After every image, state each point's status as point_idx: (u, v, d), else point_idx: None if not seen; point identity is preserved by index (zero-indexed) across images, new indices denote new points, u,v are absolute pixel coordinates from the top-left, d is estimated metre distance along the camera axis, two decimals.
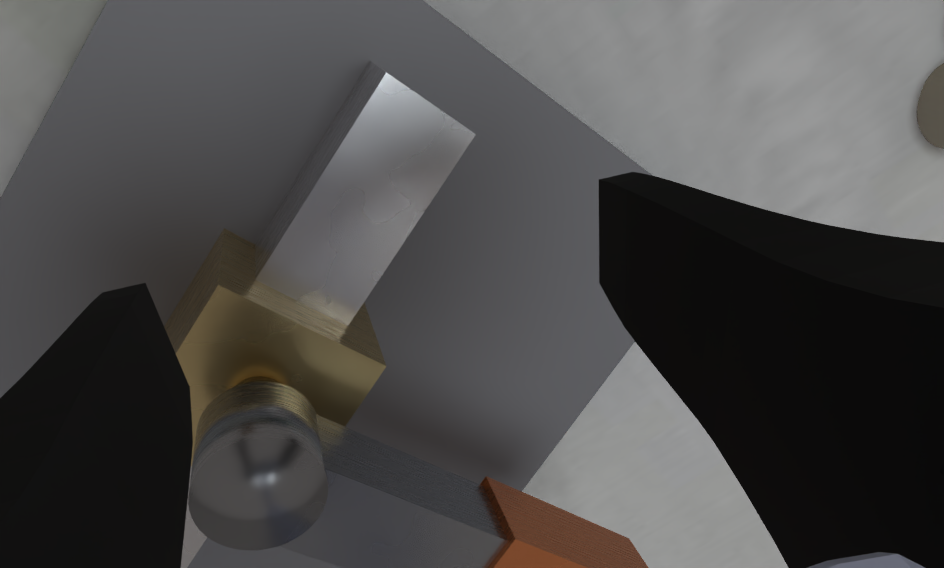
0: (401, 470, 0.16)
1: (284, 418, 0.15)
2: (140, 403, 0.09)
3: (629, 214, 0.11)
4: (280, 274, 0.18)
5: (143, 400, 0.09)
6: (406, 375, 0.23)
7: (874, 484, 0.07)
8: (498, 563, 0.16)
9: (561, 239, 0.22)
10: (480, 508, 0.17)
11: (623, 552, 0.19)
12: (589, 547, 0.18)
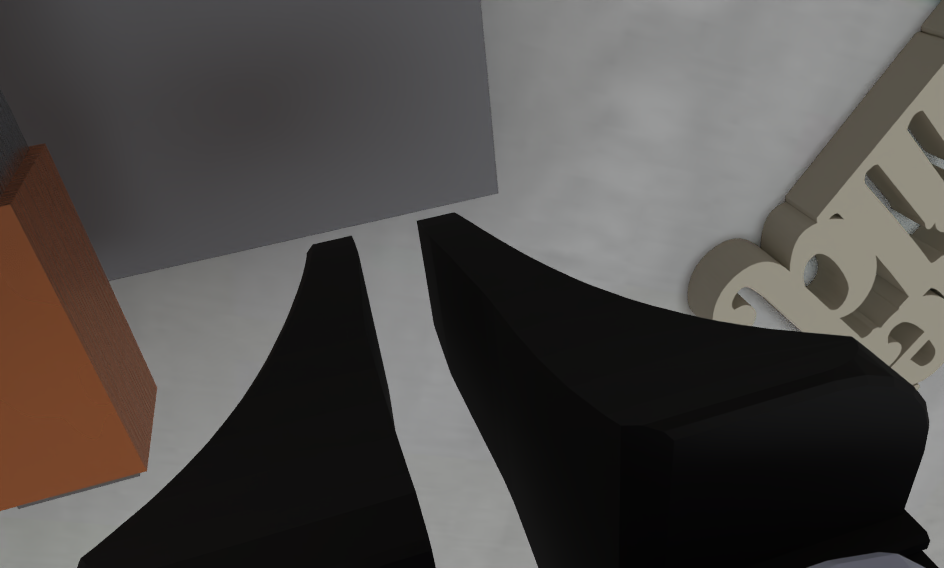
0: None
1: None
2: (374, 342, 0.10)
3: (434, 260, 0.10)
4: None
5: (374, 341, 0.10)
6: (52, 19, 0.15)
7: None
8: None
9: (356, 48, 0.17)
10: None
11: (138, 385, 0.13)
12: (102, 333, 0.12)
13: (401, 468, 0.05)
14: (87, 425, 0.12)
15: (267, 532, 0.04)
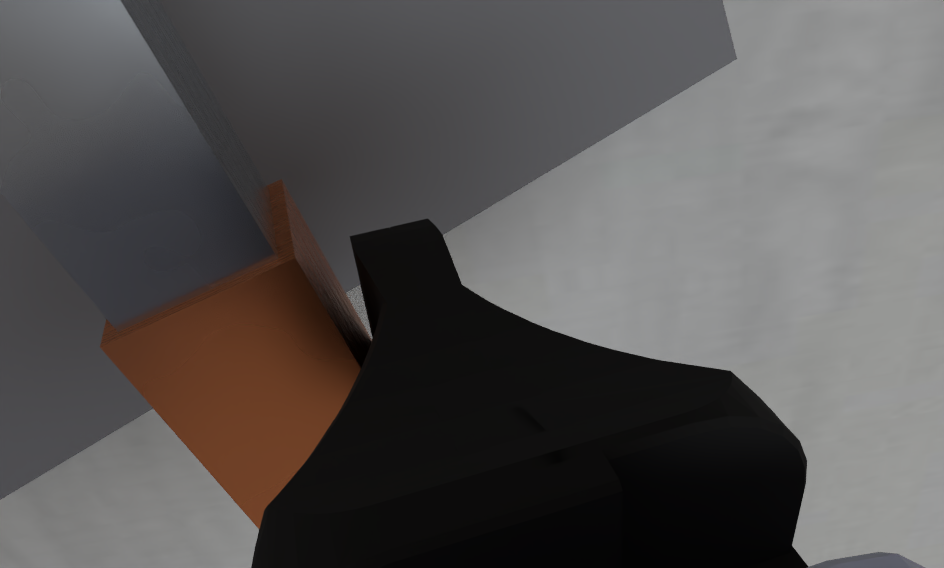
0: (154, 17, 0.08)
1: None
2: None
3: (362, 277, 0.10)
4: None
5: None
6: (242, 24, 0.14)
7: None
8: (238, 287, 0.08)
9: None
10: (254, 193, 0.09)
11: None
12: None
13: (566, 421, 0.05)
14: None
15: (457, 477, 0.05)
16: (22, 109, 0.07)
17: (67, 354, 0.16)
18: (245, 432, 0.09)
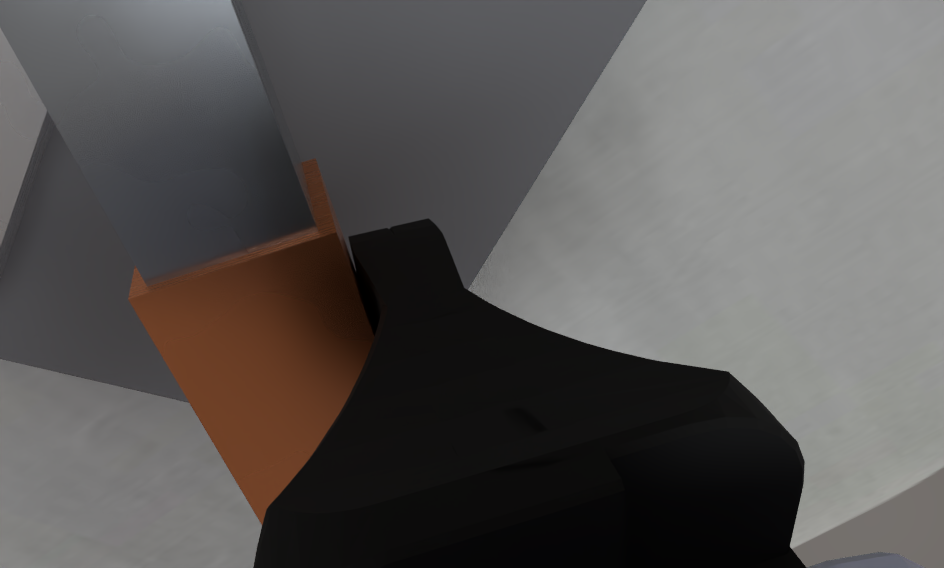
0: None
1: None
2: None
3: (361, 278, 0.10)
4: None
5: None
6: None
7: None
8: (276, 255, 0.08)
9: None
10: (297, 165, 0.09)
11: None
12: None
13: (567, 421, 0.05)
14: None
15: (459, 475, 0.05)
16: (95, 47, 0.07)
17: None
18: (256, 404, 0.09)
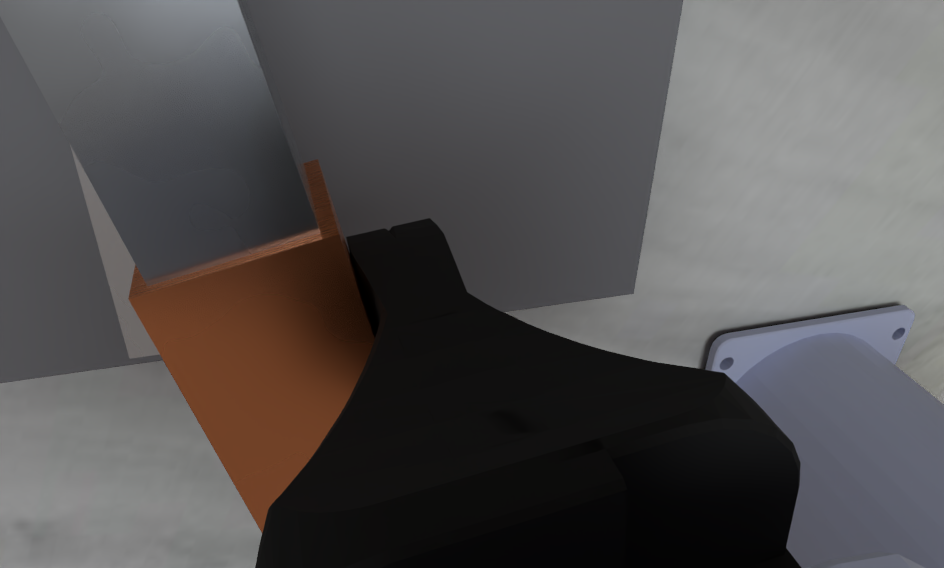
0: None
1: None
2: None
3: (358, 278, 0.10)
4: None
5: None
6: None
7: None
8: (277, 256, 0.08)
9: None
10: (300, 166, 0.09)
11: None
12: None
13: (569, 420, 0.05)
14: None
15: (462, 473, 0.05)
16: (100, 45, 0.07)
17: (574, 114, 0.17)
18: (255, 406, 0.09)
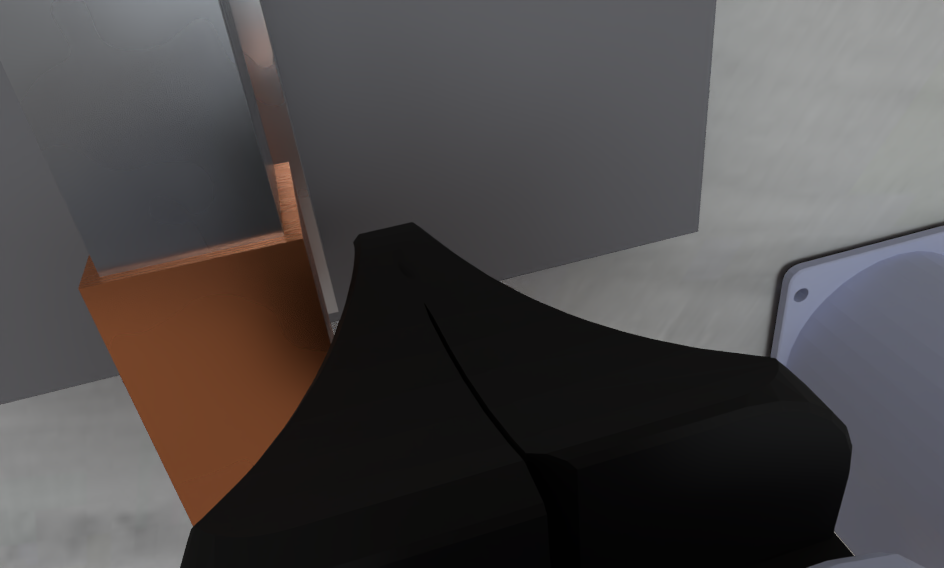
0: None
1: None
2: None
3: None
4: None
5: None
6: None
7: None
8: (238, 256, 0.08)
9: None
10: (269, 167, 0.09)
11: None
12: None
13: (500, 440, 0.05)
14: None
15: (380, 498, 0.04)
16: (69, 25, 0.07)
17: (619, 51, 0.16)
18: (202, 408, 0.09)
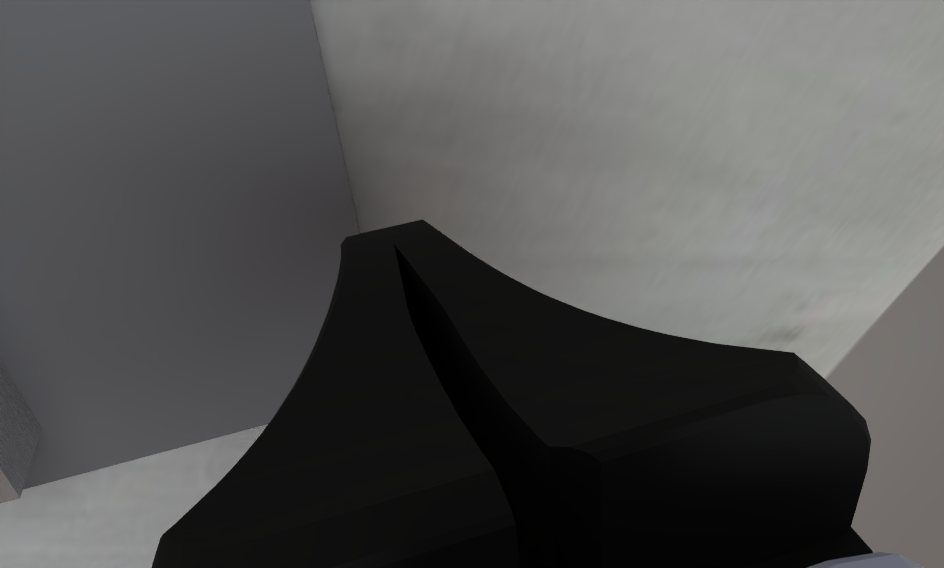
0: None
1: None
2: None
3: (400, 269, 0.10)
4: None
5: None
6: None
7: None
8: None
9: None
10: None
11: None
12: None
13: (473, 448, 0.05)
14: None
15: (352, 507, 0.04)
16: None
17: (277, 267, 0.20)
18: None
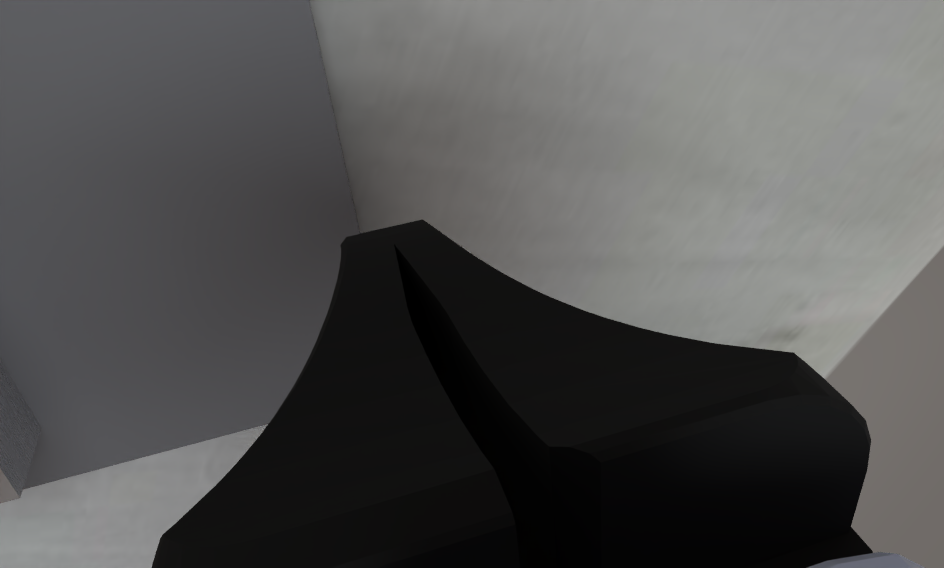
0: None
1: None
2: None
3: (400, 269, 0.10)
4: None
5: None
6: None
7: None
8: None
9: None
10: None
11: None
12: None
13: (473, 448, 0.05)
14: None
15: (352, 507, 0.04)
16: None
17: (277, 267, 0.20)
18: None
